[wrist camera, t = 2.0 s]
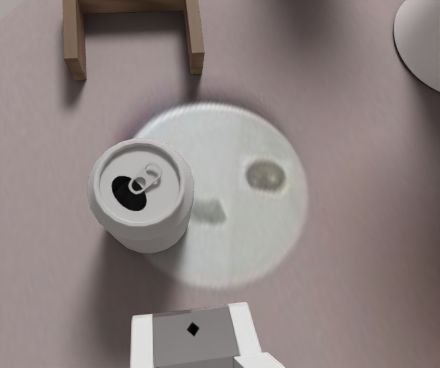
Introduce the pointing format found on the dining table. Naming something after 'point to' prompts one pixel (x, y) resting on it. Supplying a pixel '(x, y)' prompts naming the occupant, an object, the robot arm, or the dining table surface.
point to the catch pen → (117, 3)
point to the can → (142, 194)
